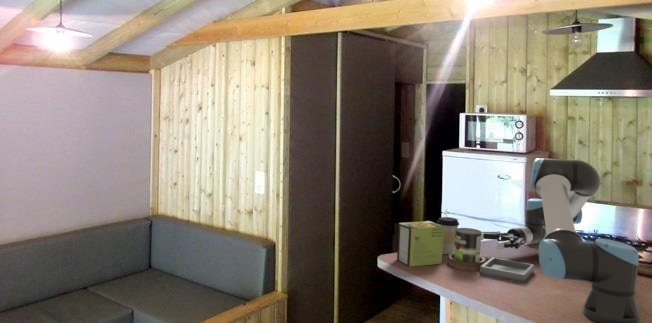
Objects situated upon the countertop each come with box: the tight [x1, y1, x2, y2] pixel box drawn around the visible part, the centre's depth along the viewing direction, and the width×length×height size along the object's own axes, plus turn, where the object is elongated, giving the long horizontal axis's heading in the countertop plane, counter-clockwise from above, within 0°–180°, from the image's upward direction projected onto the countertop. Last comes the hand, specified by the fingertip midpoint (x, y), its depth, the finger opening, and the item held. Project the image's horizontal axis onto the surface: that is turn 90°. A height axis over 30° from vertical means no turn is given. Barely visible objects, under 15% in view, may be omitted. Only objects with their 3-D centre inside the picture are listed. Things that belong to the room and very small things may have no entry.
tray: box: [479, 256, 535, 284], centre depth 194 cm, size 16×16×3 cm
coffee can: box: [454, 227, 483, 262], centre depth 203 cm, size 10×10×14 cm
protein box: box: [396, 220, 444, 267], centre depth 206 cm, size 10×15×16 cm
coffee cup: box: [436, 216, 460, 255], centre depth 220 cm, size 9×9×15 cm
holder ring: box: [447, 253, 487, 272], centre depth 203 cm, size 14×14×3 cm
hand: (484, 241), depth 207 cm, fingers open, 13 cm apart
